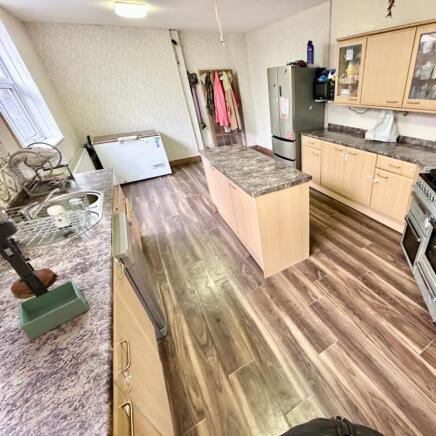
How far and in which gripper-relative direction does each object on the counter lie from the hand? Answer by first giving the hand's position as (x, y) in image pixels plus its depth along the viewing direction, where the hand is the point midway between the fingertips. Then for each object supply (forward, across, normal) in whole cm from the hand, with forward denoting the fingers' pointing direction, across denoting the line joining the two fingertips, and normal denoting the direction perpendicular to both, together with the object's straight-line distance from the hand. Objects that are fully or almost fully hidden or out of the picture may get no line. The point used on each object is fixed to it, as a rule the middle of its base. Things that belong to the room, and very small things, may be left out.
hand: (38, 287), depth 71 cm
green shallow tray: (+11, 0, 0) cm, 11 cm away
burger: (0, 0, 0) cm, 0 cm away
